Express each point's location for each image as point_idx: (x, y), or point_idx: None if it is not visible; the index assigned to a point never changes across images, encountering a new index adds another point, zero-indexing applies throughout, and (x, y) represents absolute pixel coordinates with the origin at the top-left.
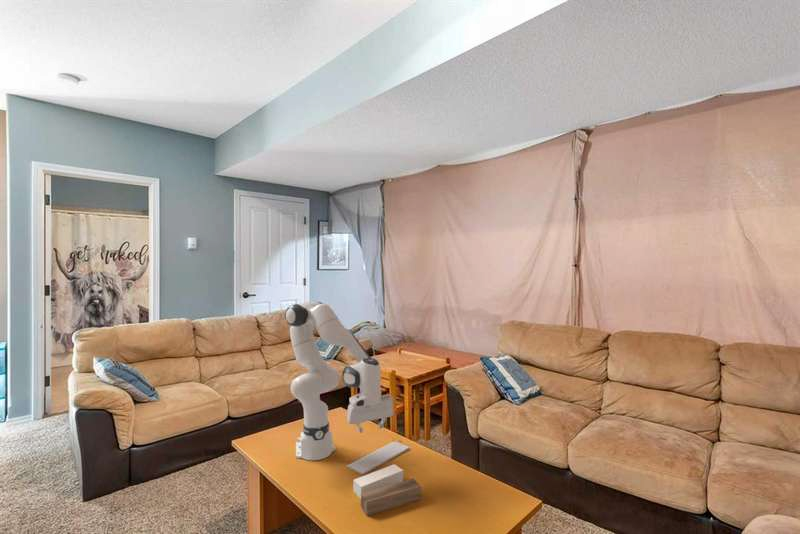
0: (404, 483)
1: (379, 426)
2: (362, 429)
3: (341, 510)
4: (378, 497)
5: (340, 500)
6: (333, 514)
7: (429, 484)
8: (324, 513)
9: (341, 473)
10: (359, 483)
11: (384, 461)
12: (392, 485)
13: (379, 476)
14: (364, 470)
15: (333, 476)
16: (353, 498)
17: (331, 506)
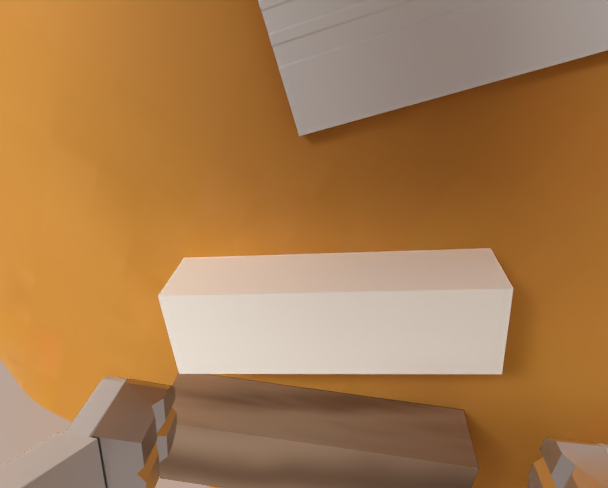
0: (404, 472)
1: (552, 481)
2: (152, 484)
3: (89, 347)
4: (223, 481)
5: (99, 286)
6: (50, 350)
7: (577, 413)
8: (12, 326)
9: (171, 17)
10: (180, 345)
11: (556, 64)
12: (336, 455)
13: (324, 350)
14: (333, 108)
15: (104, 26)
16: None
17: (48, 302)
